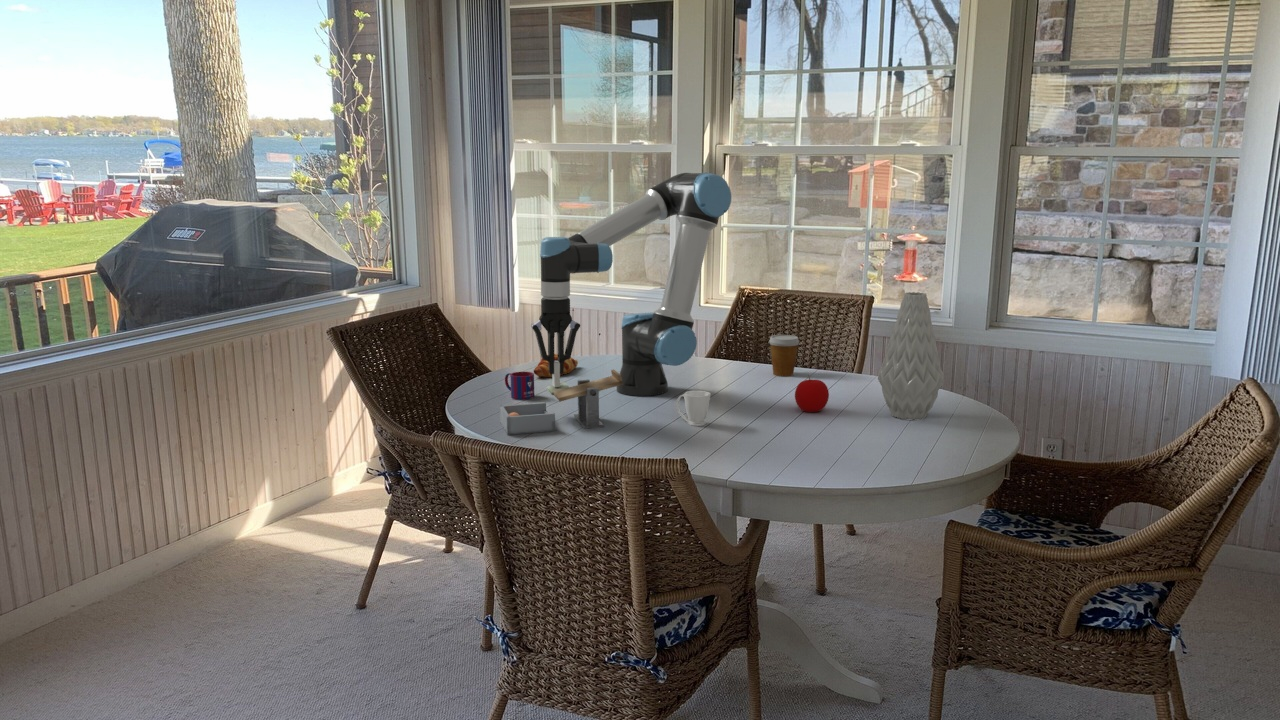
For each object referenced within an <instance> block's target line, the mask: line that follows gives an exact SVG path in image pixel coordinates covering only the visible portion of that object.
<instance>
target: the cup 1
mask: <svg viewBox="0 0 1280 720" xmlns="http://www.w3.org/2000/svg"><path fill="white" fill-rule="evenodd" d="M509 376H510V385H509V380H508V379H509ZM504 384H505V386H506V388H507V390H509V391H510V398H511V399H512V400H518V401H520V400H521V401H523V400H524V401H525V400H532V399H533V398H535V373H534V372H532V371H515V372H511V373H506V374H505V377H504Z"/></svg>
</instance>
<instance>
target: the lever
mask: <svg viewBox="0 0 1280 720" xmlns="http://www.w3.org/2000/svg"><path fill="white" fill-rule="evenodd" d="M610 372H611V375H610V376H608V377H607V376H606V377H603V378H598V379H595V380H592V381H590V382H588V383H584V384H580V385H578V384H577V385H574V386H573V385H572V386H569V385H568V384H567V383H566V382H565V381H563V382H560V387H554V386H553V384H551V385H548V386H546V387H545V388H546V390H547V391H548V392H549V394H550V395H551V396H553V397H555V398H556V400H557V401H559V402H563V401H564V402H565V401H567V400H572V399H574V398H575V399H576V398H578V397H579V396H583V395H586V388H599V392H601V391H605V390H608V389H611V388H615V387H616V388H617V386H619V385H623V382H622V377H621V375H620V372H618V371H617V370H616V369H614V368H613V369H611V370H610Z"/></svg>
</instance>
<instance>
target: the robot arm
mask: <svg viewBox="0 0 1280 720" xmlns="http://www.w3.org/2000/svg"><path fill="white" fill-rule="evenodd" d="M731 203H732V191H731V188H730V186H729V185H728V182H727V181H726V179H725V178H723V177H722V176H721V175H719V174H716V173H715V174H714V173H710V172H699V173H698V172H697V173H696V172H694V173H693V172H683V173H682V172H681V173H678V174H675V175H673V176H671V177H669V178H667V179H665V180H663V181H662V182H659V183H658V184H656V185H653V187H651V188H649V189H647V190H646V192H645V194H644V195H643V196H641V197H640V198H638V199H637V200H635V201H633V202H631V203H630V204H627V205H626V206H624V207H623V208H621V209H618V210H617V211H615V212H613V213H612V214H610V215H608V216H606V217H604V218H603V219H601V220H599V221H597V222H595V223H593V224H591V225H590V226H588V227H586V228H585V229H583V230H581V231H579V232H577V233H575V234H573V235H571V236H570V237H565V236H546V237H544V238H542V239H541V243H540V253H539V256H540V295H541V297H542V298H541V300H540V316H539V319H538V321H537V322H535V323H531V325H530V327H531V329H532V330H533V331H534V334H535V338H536V342H537V345H538V349H539V352H540V353H539V354H540V357H541V359H543V360H545V361H548V363H549V373H550V374H552V377H551V378H552V379H551V382H552V385H553V386H554V387H560V383H561V375H560V374H563V372H564V361H565V360H567V359H570V358H572V352H573V349H574V344H575V342H576V341H575V340H576V337H577V336H576V335H577V333H578V331H579V329H580V328H581V324H580V323H579V322H578V321H574V320H573V317H572V315H571V299H570V296H571V274H583V273H584V274H587V273H597V274H598V273H603V272H608V271H609V270H611V268H612V265H613V259H614V258H613V257H614V255H613V250H612V248H611V247H610V246H612V245H614V244H616V243H617V242H620V241H621V240H623V239H625V238H627V237H629V236H630V235H632V234H634V233H635V232H637V231H640V230H641V229H642V228H643V229H644V228H645V227H646V226H649V225H650V224H651V223H653V222H655V221H657V220H659V221H663V220H666V219H668V218H670V217H672V216H676V219H677V220H678V222H679V229H678V232H677V237H676V241H675V246H674V249H673V253H672V258H671V263H670V266H669V271H668V275H667V278H666V283H665V288H664V291H663V294H662V295H663V296H662V299H661V304H660V307H659V308H658V309H656V310H655V311H653V312H638V313H637V312H636V313H629V314H625V315H624V316H623V317H622V320H621V322H622V323H621V342H622V343H621V344H622V345H621V346H622V347H621V351H622V352H621V353H622V358H621V359H622V361H621V362H622V364H621V367H620V371H619V374H620V375H621V377H622V382H623V385H619V386H616V391H617V392H618V393H619V394H623V395H626V396H627V395H628V396H638V397H639V396H641V397H644V396H645V397H646V396H657V395H661V394H664V393H666V392H668V385H669V384H668V379H667V377H666V374H665V370H664V367H663V365H665V366H671V367H672V366H674V367H676V366H681V365H683V364H685V363H686V362H688V361H689V360H690V359H691V358H692V357H693V356H694V353H695V351H696V349H697V345H698V343H697V342H698V340H697V336H696V333H695V331H693V329H694V328H693V327H694V322H695V321H694V319H693V317H692V315H691V313H692V308H693V305H694V300H695V296H696V292H697V287H698V283H699V279H700V275H701V270H702V267H703V263H704V258H705V254H706V250H707V246H708V242H709V237H710V234H711V231H712V230H713V229H715V228H717V227H718V223H719V219H720V217H721V216H723V215H724V214H725V213H727V212H728V211H729V209H730V207H731ZM542 327H543V328H544V330H546V332H547V350H546V346H545V342H544V338H543V335H542V334H543V333H542V332H541V330H542ZM569 327H570V329H569V333H568V338H567V341H566V342H567V343H566V346H565V331H566V330H567V328H569ZM555 335H556V336H557V343H556V344H557V354H558V361H554V354H555ZM547 355H548V356H547Z"/></svg>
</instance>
